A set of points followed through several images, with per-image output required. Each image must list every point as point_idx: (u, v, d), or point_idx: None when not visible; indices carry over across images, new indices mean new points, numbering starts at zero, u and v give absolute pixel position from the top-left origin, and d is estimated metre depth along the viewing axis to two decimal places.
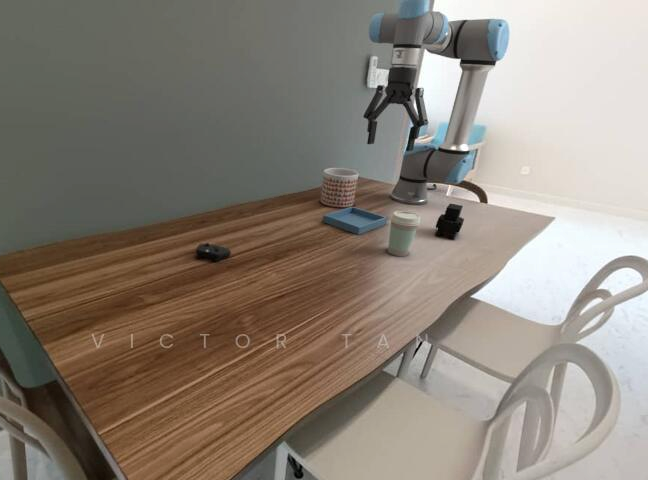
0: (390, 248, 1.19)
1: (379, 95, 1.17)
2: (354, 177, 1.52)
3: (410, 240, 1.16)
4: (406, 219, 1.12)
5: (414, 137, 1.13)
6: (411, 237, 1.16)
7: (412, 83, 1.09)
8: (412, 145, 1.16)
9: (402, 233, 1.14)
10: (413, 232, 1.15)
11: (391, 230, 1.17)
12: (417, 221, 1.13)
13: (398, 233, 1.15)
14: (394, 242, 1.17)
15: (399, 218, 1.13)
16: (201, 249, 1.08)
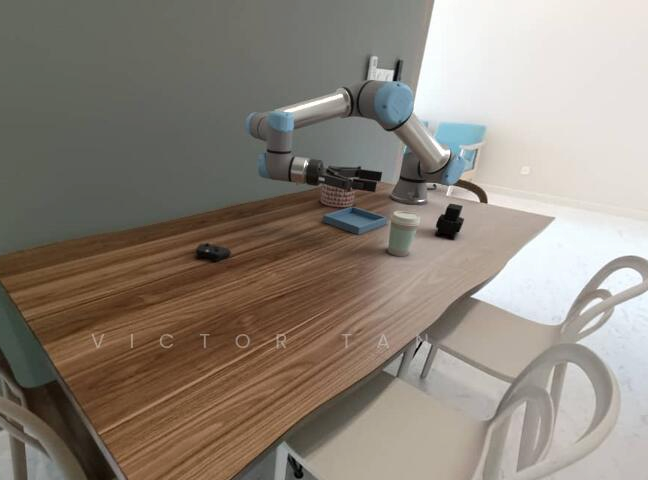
0: (390, 248, 1.19)
1: None
2: None
3: (410, 240, 1.16)
4: (406, 219, 1.12)
5: None
6: (411, 237, 1.16)
7: (317, 177, 1.15)
8: (370, 184, 1.08)
9: (402, 233, 1.14)
10: (413, 232, 1.15)
11: (391, 230, 1.17)
12: (417, 221, 1.13)
13: (398, 233, 1.15)
14: (394, 242, 1.17)
15: (399, 218, 1.13)
16: (201, 249, 1.08)
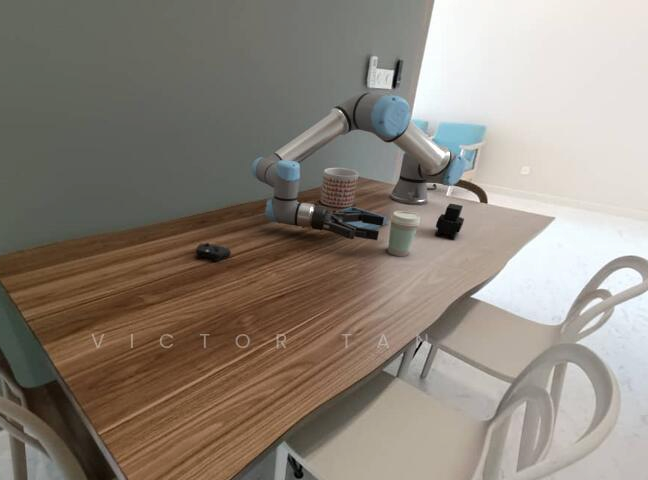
0: (390, 248, 1.19)
1: None
2: (354, 177, 1.52)
3: (410, 240, 1.16)
4: (406, 219, 1.12)
5: None
6: (411, 237, 1.16)
7: (322, 223, 1.21)
8: (373, 233, 1.14)
9: (402, 233, 1.14)
10: (413, 232, 1.15)
11: (391, 230, 1.17)
12: (417, 221, 1.13)
13: (398, 233, 1.15)
14: (394, 242, 1.17)
15: (399, 218, 1.13)
16: (201, 249, 1.08)
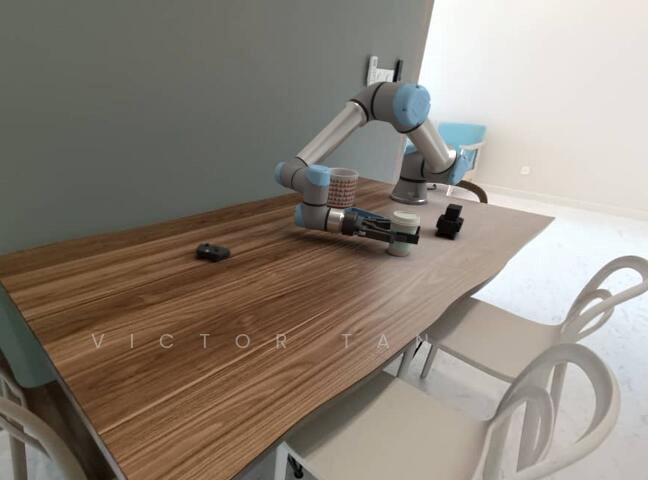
0: (390, 248, 1.19)
1: None
2: (354, 177, 1.52)
3: None
4: (406, 219, 1.12)
5: None
6: None
7: (353, 229, 1.19)
8: (413, 238, 1.13)
9: None
10: (413, 232, 1.15)
11: (391, 230, 1.17)
12: (417, 221, 1.13)
13: None
14: (394, 242, 1.17)
15: (399, 218, 1.13)
16: (201, 249, 1.08)
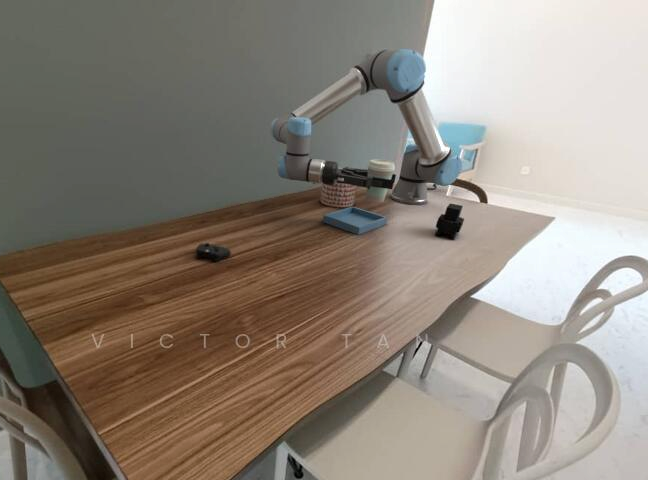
0: (367, 195, 1.27)
1: None
2: None
3: None
4: (381, 165, 1.20)
5: (379, 186, 1.22)
6: None
7: (333, 177, 1.27)
8: (388, 182, 1.21)
9: None
10: (388, 178, 1.23)
11: None
12: (392, 167, 1.21)
13: None
14: (371, 188, 1.25)
15: (375, 164, 1.21)
16: (201, 249, 1.08)
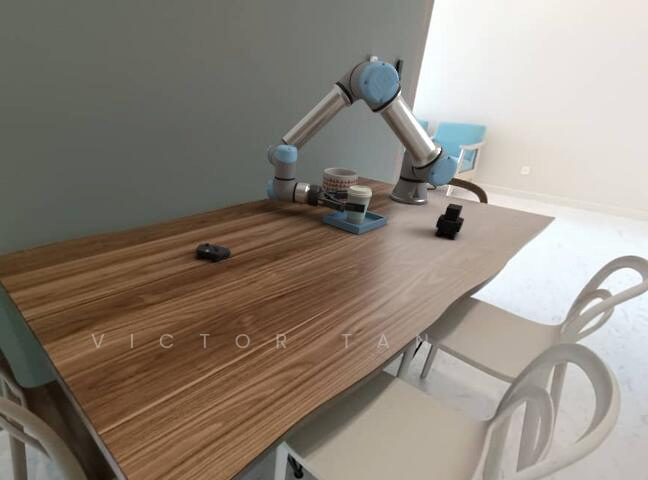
0: (348, 217, 1.40)
1: None
2: (354, 177, 1.52)
3: (364, 210, 1.37)
4: (359, 191, 1.33)
5: None
6: None
7: (316, 199, 1.39)
8: (360, 207, 1.32)
9: None
10: (366, 203, 1.35)
11: None
12: (368, 193, 1.34)
13: None
14: (350, 211, 1.38)
15: (354, 190, 1.34)
16: (201, 249, 1.08)
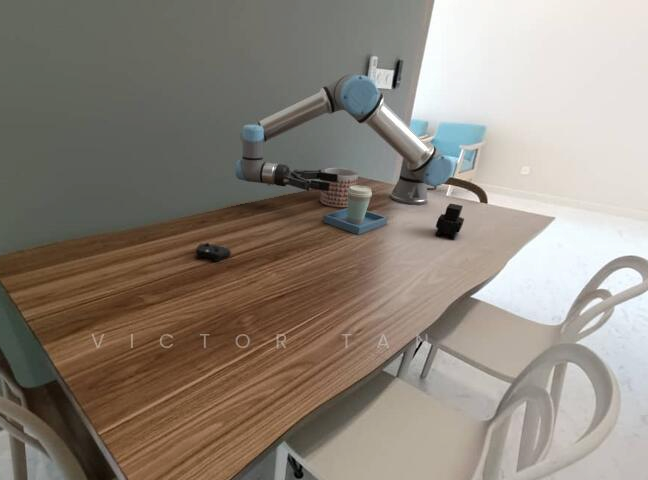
0: (348, 217, 1.40)
1: None
2: (354, 177, 1.52)
3: (364, 210, 1.37)
4: (359, 191, 1.33)
5: (317, 188, 1.33)
6: (364, 207, 1.36)
7: (283, 179, 1.40)
8: (324, 185, 1.32)
9: (356, 203, 1.35)
10: (366, 203, 1.35)
11: (348, 202, 1.38)
12: (368, 193, 1.34)
13: (353, 204, 1.36)
14: (350, 211, 1.38)
15: (354, 190, 1.34)
16: (201, 249, 1.08)
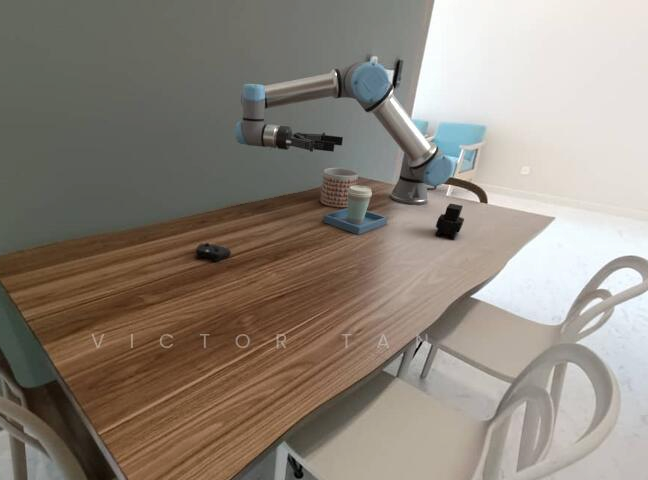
0: (348, 217, 1.40)
1: None
2: (354, 177, 1.52)
3: (364, 210, 1.37)
4: (359, 191, 1.33)
5: None
6: (364, 207, 1.36)
7: (285, 140, 1.33)
8: (329, 145, 1.26)
9: (356, 203, 1.35)
10: (366, 203, 1.35)
11: (348, 202, 1.38)
12: (368, 193, 1.34)
13: (353, 204, 1.36)
14: (350, 211, 1.38)
15: (354, 190, 1.34)
16: (201, 249, 1.08)
